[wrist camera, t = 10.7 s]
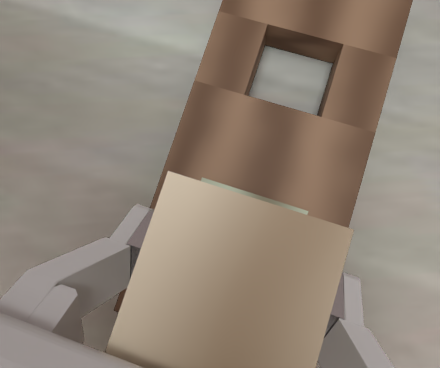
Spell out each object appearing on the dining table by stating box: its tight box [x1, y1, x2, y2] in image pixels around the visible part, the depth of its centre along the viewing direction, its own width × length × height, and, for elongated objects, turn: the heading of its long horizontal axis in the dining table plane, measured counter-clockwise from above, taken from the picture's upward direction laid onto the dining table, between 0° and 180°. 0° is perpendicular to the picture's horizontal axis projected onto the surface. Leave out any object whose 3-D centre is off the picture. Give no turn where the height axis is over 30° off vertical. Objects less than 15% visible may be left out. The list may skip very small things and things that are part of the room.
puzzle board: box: [114, 0, 413, 312], centre depth 26 cm, size 14×30×3 cm, turn 162°
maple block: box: [105, 171, 354, 368], centre depth 11 cm, size 4×4×9 cm
